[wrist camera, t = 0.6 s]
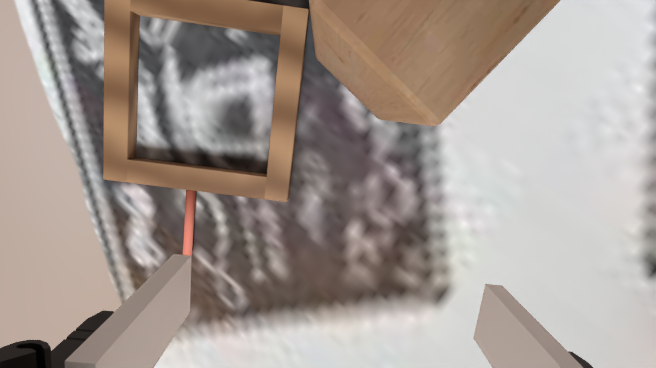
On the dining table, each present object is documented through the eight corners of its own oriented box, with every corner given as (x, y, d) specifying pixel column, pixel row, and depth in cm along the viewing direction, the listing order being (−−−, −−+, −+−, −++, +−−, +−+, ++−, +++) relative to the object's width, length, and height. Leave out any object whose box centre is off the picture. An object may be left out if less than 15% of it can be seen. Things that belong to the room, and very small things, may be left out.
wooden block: (314, 56, 38) (304, -3, 18) (379, -18, 37) (444, -167, 17) (380, 121, 39) (437, 130, 20) (445, 52, 38) (575, -12, 18)
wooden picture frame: (115, -15, 36) (104, -21, 34) (309, 14, 37) (308, 9, 35) (113, 176, 40) (103, 179, 38) (288, 198, 41) (286, 201, 39)
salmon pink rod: (188, 181, 40) (185, 183, 39) (197, 182, 40) (194, 184, 39) (184, 254, 42) (181, 258, 41) (193, 255, 42) (190, 259, 41)
